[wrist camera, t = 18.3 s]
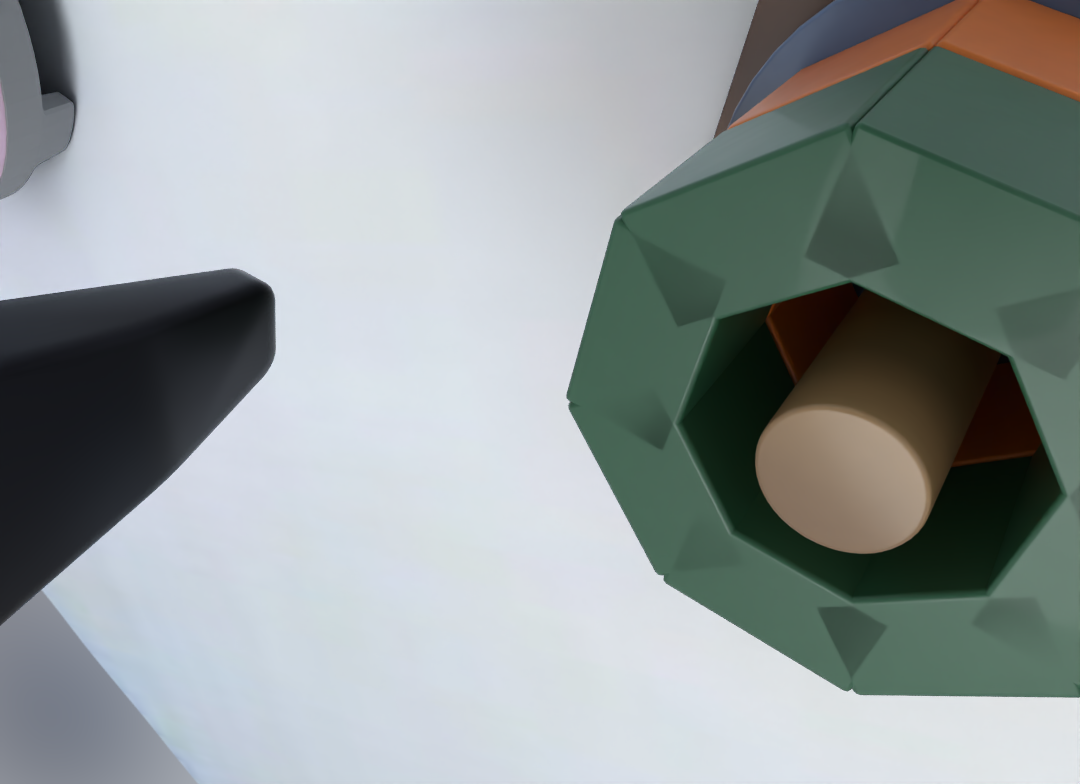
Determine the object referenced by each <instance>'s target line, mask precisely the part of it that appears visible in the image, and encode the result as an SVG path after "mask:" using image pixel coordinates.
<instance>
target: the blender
mask: <svg viewBox="0 0 1080 784" xmlns="http://www.w3.org/2000/svg"><path fill="white" fill-rule="evenodd" d="M73 122H74V104H73V103H72V101H70V100H69V99H67V98H66V97H65V96H63V95H62V94H61V93H59V92H54V93H49V94H43V95H41V88H40V81H39V74H38V69H37V64H36V59H35V54H34V50H33V47H32V43H31V39H30V35H29V32H28V28H27V25H26V22H25V19H24V16H23V13H22V10H21V7H20V4H19V2H18V0H0V199H3V198H5V197H7V196H9V195H11V194H13V193H15V192H16V191H18V190H19V189H20V188H21V187H22V186H23V185H24V184H25V183H26V181H27V180H28V179H29V177H30V175H31V174H32V172H33V170H34V169H35V168H36V167H37V165H39V164H40V163H42V162H44V161H46V160H48V159H50V158H51V157H53V156H55V155H57V154H59V153H60V152H62V151H64V150H65V149H66V147H67V145H68V143H69V141H70V137H71V133H72V129H73Z"/></svg>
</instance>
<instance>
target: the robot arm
mask: <svg viewBox="0 0 1080 784" xmlns="http://www.w3.org/2000/svg"><path fill="white" fill-rule="evenodd" d="M275 350H276V339H275V296H274V293H273V291H272V289H271V287H270V286H269V285H268V284H266V283H265V282H263V281H261V280H259V279H257V278H255V277H254V276H252V275H250V274H248V273H246V272H244V271H242V270H239V269H233V268H232V269H223V270H216V271H209V272H202V273H194V274H187V275H180V276H173V277H166V278H159V279H152V280H145V281H137V282H130V283H123V284H116V285H109V286H102V287H95V288H88V289H80V290H73V291H66V292H59V293H52V294H45V295H38V296H31V297H23V298H16V299H9V300H2V301H0V625H1V624H3V623H4V622H5V621H6V620H7V619H8V618H10V617H11V616H12V615H13V614H14V613H15V612H16V611H17V610H19V609H20V608H21V607H22V606H23V605H24V604H25V603H27V602H28V601H29V600H30V599H31V598H32V597H34V596H35V595H36V594H37V593H38V592H39V591H40V590H42V589H43V588H44V587H45V586H46V585H47V584H48V583H50V582H51V581H52V580H53V579H54V578H55V577H56V576H58V575H59V574H60V573H61V572H62V571H63V570H64V569H66V568H67V567H68V566H69V565H70V564H71V563H72V562H74V561H75V560H76V559H77V558H78V557H79V556H80V555H82V554H83V553H84V552H85V551H86V550H87V549H89V548H90V547H91V546H92V545H93V544H94V543H95V542H97V541H98V540H99V539H100V538H101V537H102V536H103V535H105V534H106V533H107V532H108V531H109V530H110V529H111V528H113V527H114V526H115V525H116V524H117V523H118V522H119V521H121V520H122V519H123V518H124V517H125V516H126V515H127V514H129V513H130V512H131V511H132V510H133V509H134V508H135V507H137V506H138V505H139V504H140V503H141V502H142V501H143V500H145V499H146V498H147V497H148V496H149V495H150V494H151V493H152V492H154V491H155V490H156V489H157V488H158V487H159V486H160V485H161V484H162V483H163V482H164V481H166V480H167V479H168V478H169V477H170V476H171V475H172V474H173V473H174V472H175V471H176V470H177V469H178V468H179V467H180V466H181V465H182V464H183V463H184V461H185V460H186V459H187V458H188V457H189V456H190V455H191V454H192V453H193V452H194V451H195V450H196V449H197V447H198V446H199V445H200V444H201V443H202V442H203V441H204V440H205V439H206V438H207V437H208V436H209V435H210V434H211V432H212V431H213V430H214V429H215V428H216V427H217V426H218V425H219V424H220V423H221V422H222V421H223V420H224V418H225V417H226V416H227V415H228V414H229V413H230V412H231V411H232V410H233V409H234V408H235V407H236V406H237V404H238V403H239V402H240V401H241V400H242V399H243V398H244V397H245V396H246V395H247V394H248V393H249V392H250V390H251V389H252V388H253V387H254V386H255V385H256V384H257V383H258V382H259V381H260V380H261V379H262V378H263V376H264V375H265V374H266V373H267V371H268V370H269V368H270V366H271V364H272V362H273V360H274V356H275Z"/></svg>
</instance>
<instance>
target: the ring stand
mask: <svg viewBox="0 0 1080 784" xmlns="http://www.w3.org/2000/svg"><path fill="white" fill-rule="evenodd" d="M953 1H955V0H759V1H758V4H757V7H756V10H755V13H754V16H753V19H752V22H751V25H750V29H749V32H748V35H747V38H746V41H745V44H744V47H743V50H742V53H741V56H740V59H739V62H738V65H737V68H736V71H735V74H734V77H733V80H732V83H731V86H730V90H729V93H728V96H727V99H726V102H725V105H724V108H723V111H722V114H721V117H720V120H719V123H718V126H717V129H716V132H715V135H714V138H716V137H717V136H718V135H719V134H721V133H722V132H724V131H726V130H727V129H728V128H729V127H730V125H732V124H733V123H734V122H735V121H737V120H738V119H739V118H740V117H742V116H743V115H744V114H746V113H747V112H748V111H749V110H751V109H752V108H753V107H754V106H756V105H757V104H758V103H760V102H761V101H762V100H763V99H765V98H766V97H767V96H768V95H770V94H771V93H772V92H774V91H775V90H776V89H777V88H779V87H780V86H781V85H783V84H784V83H785V82H786V81H788V80H789V79H790V78H791V77H793V76H794V75H795V74H797V73H798V72H799V71H800V70H802V69H804V68H806V67H808V66H810V65H813V64H815V63H817V62H819V61H821V60H824V59H826V58H828V57H830V56H833V55H835V54H837V53H839V52H841V51H844V50H846V49H848V48H850V47H853V46H855V45H857V44H859V43H862V42H864V41H866V40H868V39H870V38H873V37H875V36H877V35H879V34H882V33H884V32H886V31H888V30H890V29H893V28H895V27H897V26H899V25H902V24H904V23H906V22H908V21H910V20H913V19H915V18H917V17H919V16H922V15H924V14H926V13H928V12H931V11H933V10H935V9H937V8H939V7H942V6H944V5H946V4H948V3H951V2H953ZM1030 1H1032V2H1035V3H1038V4H1041V5H1043V6H1046V7H1049V8H1052V9H1054V10H1057V11H1060V12H1062V13H1065V14H1068V15H1071V16H1073V17H1076V18H1079V19H1080V0H1030ZM714 138H713V139H714ZM852 285H853V287H854V289H855V291H856V294H857V296H858V299H857V300H856V302H855V303H854V305H853V306H852V307H851V309H850V310H849V312H848V313H847V314H846V316H845V317H844V319H843V320H842V321H841V323H840V324H839V325H838V327H837V328H836V330H835V331H834V332H833V334H832V335H831V337H830V338H829V339H828V341H827V342H826V344H825V345H824V346H823V348H822V349H821V351H820V352H819V353H818V355H817V356H816V358H815V359H814V360H813V362H812V363H811V365H810V366H809V367H808V369H807V370H806V372H805V373H804V374H803V376H802V377H801V379H800V380H799V381H798V383H797V384H796V385H795V387H794V388H793V390H792V391H791V392H790V394H789V395H788V397H787V398H786V399H785V401H784V402H783V404H782V405H781V406H780V408H779V409H778V411H777V412H776V413H775V415H774V416H773V418H772V419H771V420H770V422H769V423H768V425H767V426H766V427H765V429H764V430H763V432H762V434H761V436H760V438H759V441H758V444H757V448H756V453H755V467H756V475H757V479H758V482H759V485H760V488H761V490H762V492H763V494H764V496H765V498H766V500H767V501H768V503H769V504H770V506H771V507H772V508H773V510H774V511H775V512H776V513H777V514H778V516H779V517H780V518H781V519H782V520H783V521H784V522H785V523H787V524H788V525H789V526H790V527H791V528H793V529H794V530H795V531H797V532H798V533H799V534H801V535H803V536H804V537H806V538H807V539H809V540H811V541H813V542H815V543H817V544H820V545H822V546H825V547H828V548H831V549H834V550H838V551H843V552H848V553H858V554H868V553H878V552H883V551H887V550H890V549H893V548H895V547H898V546H900V545H902V544H904V543H905V542H907V541H908V540H910V539H912V538H913V537H914V536H915V535H916V534H917V533H918V532H919V531H920V530H921V528H922V527H923V526H924V525H925V523H926V521H927V519H928V517H929V515H930V513H931V510H932V508H933V506H934V504H935V501H936V499H937V497H938V495H939V493H940V490H941V488H942V486H943V484H944V481H945V479H946V477H947V475H948V472H949V470H950V468H951V466H952V463H953V461H954V459H955V457H956V454H957V452H958V450H959V448H960V446H961V443H962V441H963V439H964V437H965V434H966V432H967V430H968V428H969V425H970V423H971V421H972V419H973V416H974V414H975V412H976V410H977V408H978V405H979V403H980V401H981V399H982V396H983V394H984V392H985V390H986V387H987V385H988V383H989V381H990V378H991V376H992V374H993V372H994V369H995V367H996V365H998V364H1003V363H1008V362H1010V361H1009V358H1008V356H1006V355H1003V354H1001V353H999V352H997V351H995V350H993V349H991V348H989V347H987V346H985V345H982V344H980V343H978V342H976V341H974V340H972V339H970V338H968V337H966V336H964V335H961V334H959V333H957V332H955V331H953V330H951V329H949V328H947V327H945V326H943V325H940V324H938V323H936V322H934V321H932V320H930V319H928V318H926V317H924V316H922V315H919V314H917V313H915V312H913V311H911V310H909V309H907V308H905V307H903V306H901V305H898V304H896V303H894V302H892V301H890V300H888V299H886V298H884V297H882V296H879V295H877V294H875V293H873V292H871V291H869V290H867V289H865V288H863V287H861V286H858V285H856V284H854V283H852Z"/></svg>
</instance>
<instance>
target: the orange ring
mask: <svg viewBox="0 0 1080 784" xmlns="http://www.w3.org/2000/svg"><path fill="white" fill-rule="evenodd" d="M934 46H939V47H941V48H944V49H946V50H949V51H952V52H954V53H957V54H959V55H962V56H964V57H967V58H969V59H972V60H974V61H977V62H980V63H982V64H985V65H987V66H990V67H992V68H995V69H997V70H1000V71H1003V72H1005V73H1008V74H1010V75H1013V76H1015V77H1018V78H1020V79H1023V80H1025V81H1028V82H1031V83H1033V84H1036V85H1038V86H1041V87H1043V88H1046V89H1048V90H1051V91H1054V92H1056V93H1059V94H1061V95H1064V96H1066V97H1069V98H1071V99H1074V100H1076V101H1079V102H1080V19H1079V18H1076V17H1073V16H1071V15H1068V14H1065V13H1062V12H1060V11H1057V10H1054V9H1052V8H1049V7H1046V6H1043V5H1041V4H1038V3H1035V2H1032V1H1030V0H955V1H953V2H951V3H948V4H946V5H944V6H942V7H939V8H937V9H935V10H933V11H931V12H928V13H926V14H924V15H922V16H919V17H917V18H915V19H913V20H910V21H908V22H906V23H904V24H902V25H899V26H897V27H895V28H893V29H890V30H888V31H886V32H884V33H882V34H879V35H877V36H875V37H873V38H870V39H868V40H866V41H864V42H862V43H859V44H857V45H855V46H853V47H850V48H848V49H846V50H844V51H841V52H839V53H837V54H835V55H833V56H830V57H828V58H826V59H824V60H821V61H819V62H817V63H815V64H813V65H810V66H808V67H806V68H804V69H802V70H800V71H799V72H798V73H797V74H795V75H794V76H793V77H791V78H790V79H789V80H788V81H786V82H785V83H784V84H783V85H781V86H780V87H779V88H777V89H776V90H775V91H774V92H772V93H771V94H770V95H768V96H767V97H766V98H765V99H763V100H762V101H761V102H760V103H758V104H757V105H756V106H754V107H753V108H752V109H751V110H749V111H748V112H747V113H746V114H744V115H743V116H742V117H740V118H739V119H738V120H737V121H735V122H734V123H733V124H732V125H730V127H729V128H728V129H731V128H733V127H735V126H738V125H740V124H742V123H745V122H747V121H749V120H752V119H754V118H757V117H759V116H761V115H764V114H766V113H768V112H771V111H773V110H775V109H778V108H780V107H782V106H785V105H787V104H789V103H792V102H794V101H796V100H799V99H801V98H804V97H806V96H808V95H811V94H813V93H815V92H818V91H820V90H822V89H825V88H827V87H829V86H832V85H834V84H836V83H839V82H841V81H843V80H846V79H848V78H851V77H853V76H855V75H858V74H860V73H862V72H865V71H867V70H869V69H872V68H874V67H876V66H879V65H881V64H883V63H886V62H888V61H891V60H893V59H895V58H898V57H900V56H902V55H905V54H907V53H909V52H912V51H914V50H916V49H919V48H926V49H927V50H928V51H930V50H931V49H932V48H933V47H934ZM728 129H727V130H728ZM857 299H858V296H857V294H856V291H855V289H854V287H853V285H852V282H850V283H847V284H843V285H840V286H836V287H833V288H829V289H826V290H822V291H818V292H815V293H811V294H808V295H804V296H801V297H797V298H793V299H790V300H786V301H783V302H779V303H776V304H772V306H771V309H770V311H769V313H768V316H767V318H766V320H765V322H766V324H767V327H768V329H769V331H770V333H771V335H772V337H773V340H774V342H775V344H776V346H777V348H778V350H779V353H780V355H781V357H782V359H783V361H784V363H785V366H786V368H787V370H788V372H789V374H790V376H791V379H792V381H793V383H794V385H796V384H797V383H798V381H799V380H800V379H801V377H802V376H803V374H804V373H805V372H806V370H807V369H808V367H809V366H810V365H811V363H812V362H813V360H814V359H815V358H816V356H817V355H818V353H819V352H820V351H821V349H822V348H823V346H824V345H825V344H826V342H827V341H828V339H829V338H830V337H831V335H832V334H833V332H834V331H835V330H836V328H837V327H838V325H839V324H840V323H841V321H842V320H843V319H844V317H845V316H846V314H847V313H848V312H849V310H850V309H851V307H852V306H853V305H854V303H855V302H856V300H857ZM1041 443H1042V441H1041V439H1040V436H1039V434H1038V431H1037V429H1036V426H1035V424H1034V421H1033V419H1032V416H1031V414H1030V411H1029V409H1028V406H1027V404H1026V401H1025V399H1024V396H1023V393H1022V391H1021V388H1020V386H1019V383H1018V381H1017V378H1016V376H1015V373H1014V371H1013V368H1012V366H1011V363H1010V362H1008V363H1003V364H998V365H996V367H995V369H994V372H993V374H992V376H991V378H990V381H989V383H988V385H987V387H986V390H985V392H984V394H983V396H982V399H981V401H980V403H979V405H978V408H977V410H976V412H975V414H974V416H973V419H972V421H971V423H970V425H969V428H968V430H967V432H966V434H965V437H964V439H963V441H962V443H961V446H960V448H959V450H958V452H957V454H956V457H955V459H954V461H953V463H952V466H951V467H956V466H963V465H970V464H978V463H985V462H992V461H999V460H1006V459H1013V458H1021V457H1028V456H1033V454H1034V453H1035V452H1036V450H1037V449H1038V447H1039V446H1040V445H1041Z"/></svg>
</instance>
